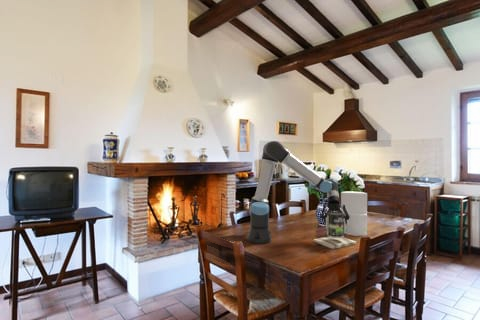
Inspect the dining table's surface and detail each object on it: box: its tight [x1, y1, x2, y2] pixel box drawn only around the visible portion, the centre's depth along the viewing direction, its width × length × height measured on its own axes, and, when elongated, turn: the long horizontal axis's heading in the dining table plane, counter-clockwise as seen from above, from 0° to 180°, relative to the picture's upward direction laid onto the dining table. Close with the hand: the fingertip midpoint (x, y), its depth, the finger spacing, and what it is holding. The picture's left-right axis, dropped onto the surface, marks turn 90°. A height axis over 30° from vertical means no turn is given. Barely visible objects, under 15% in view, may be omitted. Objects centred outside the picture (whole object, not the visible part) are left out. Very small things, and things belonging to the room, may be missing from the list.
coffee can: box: [326, 211, 345, 238], centre depth 182 cm, size 10×10×14 cm
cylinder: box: [340, 190, 368, 237], centre depth 207 cm, size 17×17×28 cm
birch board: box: [313, 236, 357, 250], centre depth 182 cm, size 20×16×2 cm
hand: (335, 228), depth 179 cm, fingers closed on coffee can, 10 cm apart
